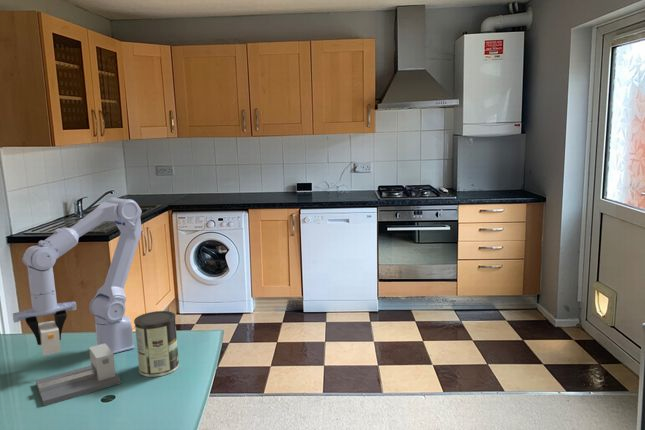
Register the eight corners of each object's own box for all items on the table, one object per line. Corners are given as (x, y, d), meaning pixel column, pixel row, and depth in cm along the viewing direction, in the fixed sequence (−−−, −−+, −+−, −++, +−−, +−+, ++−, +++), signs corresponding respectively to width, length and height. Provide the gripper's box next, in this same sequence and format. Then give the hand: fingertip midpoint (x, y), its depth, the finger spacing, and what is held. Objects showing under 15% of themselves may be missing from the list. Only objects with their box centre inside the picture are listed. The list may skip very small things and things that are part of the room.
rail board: (107, 365, 138) (105, 340, 137) (120, 383, 127) (117, 356, 126) (36, 384, 128) (33, 357, 127) (43, 405, 118) (40, 376, 117)
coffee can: (166, 356, 143) (162, 307, 140) (186, 367, 136) (183, 316, 133) (131, 369, 135) (126, 318, 133) (151, 381, 128) (146, 327, 126)
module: (55, 341, 140) (53, 320, 139) (61, 352, 132) (59, 330, 131) (38, 345, 137) (36, 323, 136) (43, 356, 130) (41, 333, 129)
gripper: (70, 283, 140) (76, 330, 142) (9, 293, 132) (15, 343, 134) (75, 288, 134) (81, 338, 136) (11, 300, 126) (18, 352, 128)
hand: (49, 341), depth 135 cm, fingers closed on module, 4 cm apart
